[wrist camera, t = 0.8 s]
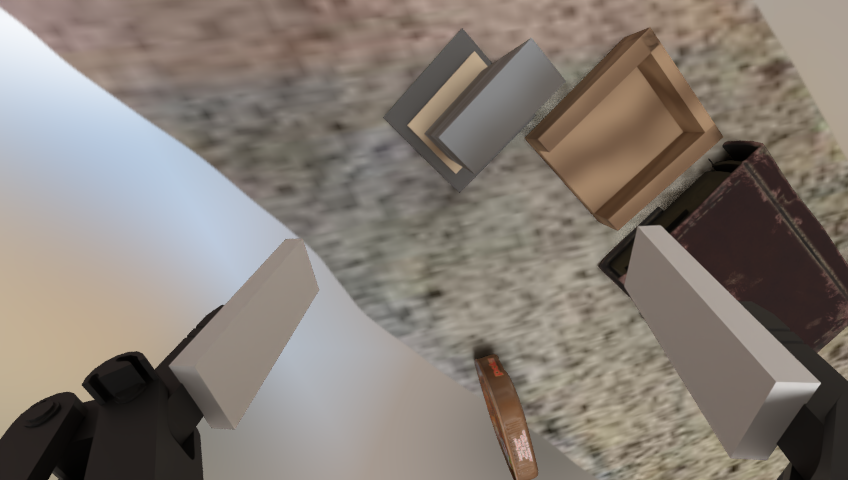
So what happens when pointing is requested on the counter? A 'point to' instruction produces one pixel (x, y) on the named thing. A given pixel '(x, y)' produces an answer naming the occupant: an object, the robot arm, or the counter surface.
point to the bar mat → (425, 91)
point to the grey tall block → (485, 105)
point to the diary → (755, 243)
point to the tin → (507, 417)
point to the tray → (625, 130)
